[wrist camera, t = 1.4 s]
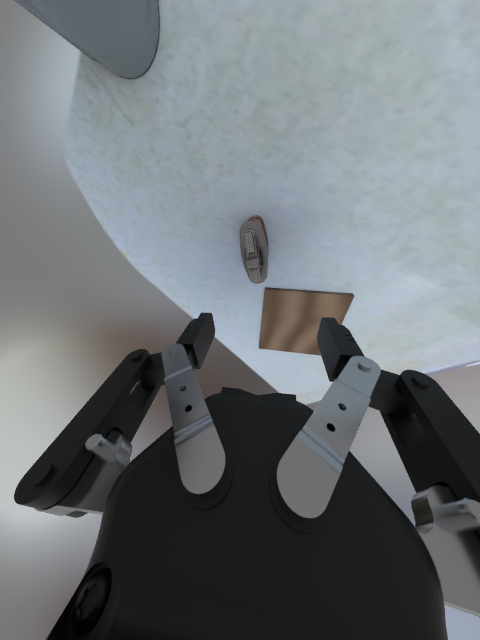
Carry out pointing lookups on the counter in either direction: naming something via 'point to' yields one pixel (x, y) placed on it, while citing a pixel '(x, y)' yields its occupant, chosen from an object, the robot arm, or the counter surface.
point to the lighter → (254, 249)
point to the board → (298, 318)
